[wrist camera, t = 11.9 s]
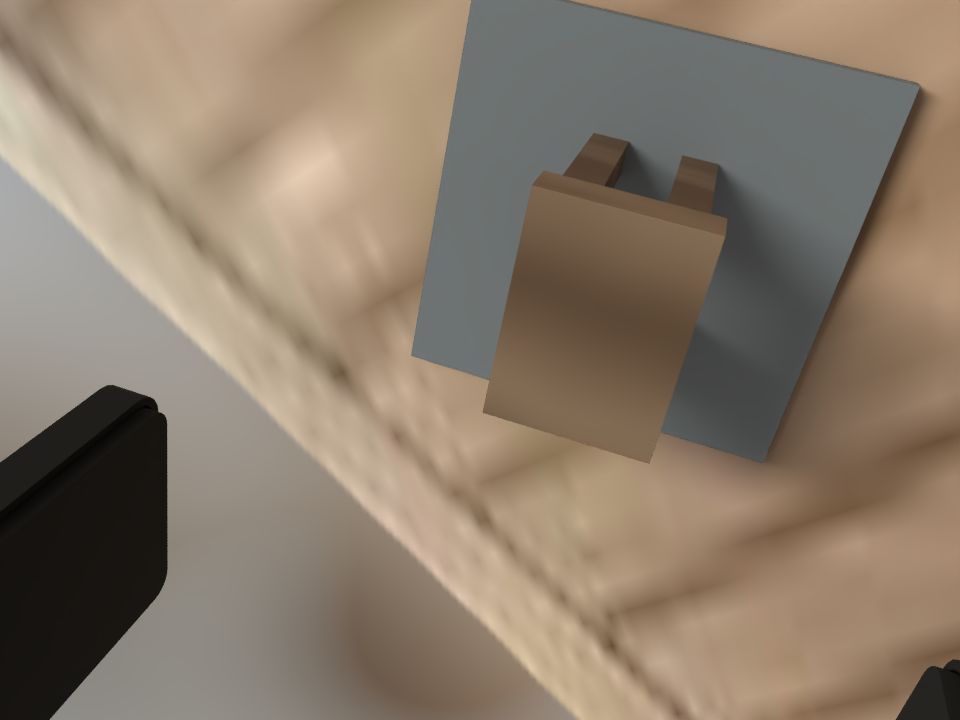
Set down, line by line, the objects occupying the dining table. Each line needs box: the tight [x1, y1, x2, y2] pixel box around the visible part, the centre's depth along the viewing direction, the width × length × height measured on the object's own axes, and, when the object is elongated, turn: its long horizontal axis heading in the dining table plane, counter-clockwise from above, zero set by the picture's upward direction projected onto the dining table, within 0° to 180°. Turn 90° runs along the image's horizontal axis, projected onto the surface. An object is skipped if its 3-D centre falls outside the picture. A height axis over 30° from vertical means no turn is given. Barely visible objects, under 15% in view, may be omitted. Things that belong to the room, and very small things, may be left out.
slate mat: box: [411, 0, 920, 463], centre depth 32 cm, size 14×14×1 cm
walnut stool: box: [483, 133, 727, 464], centre depth 28 cm, size 7×5×8 cm
